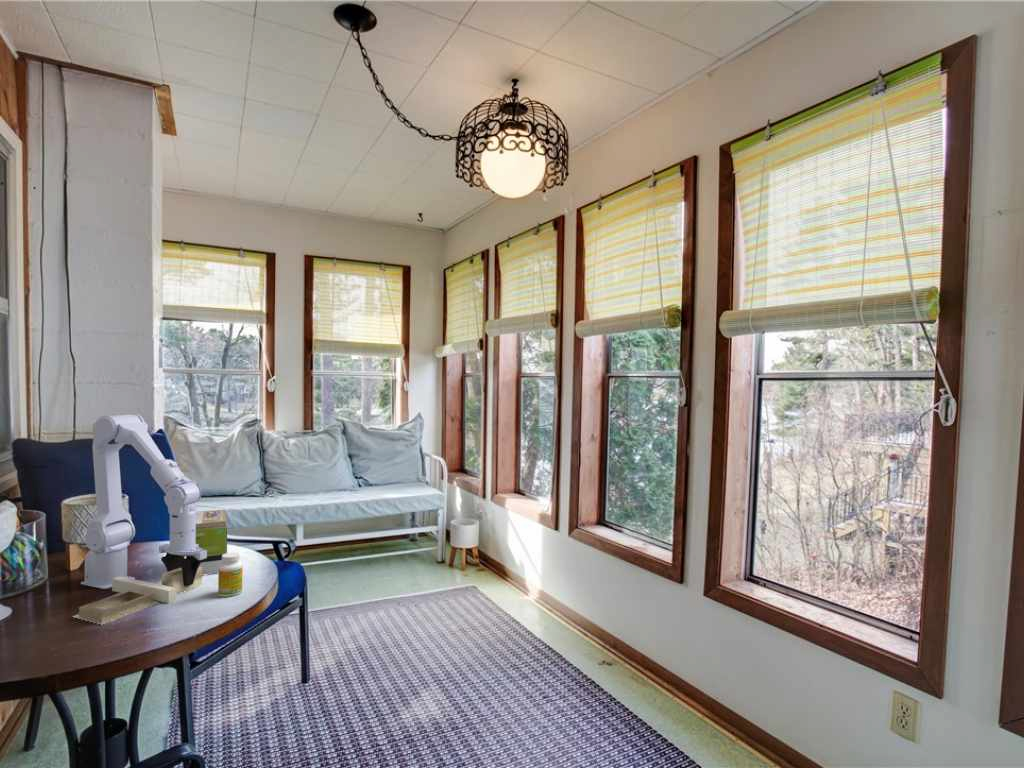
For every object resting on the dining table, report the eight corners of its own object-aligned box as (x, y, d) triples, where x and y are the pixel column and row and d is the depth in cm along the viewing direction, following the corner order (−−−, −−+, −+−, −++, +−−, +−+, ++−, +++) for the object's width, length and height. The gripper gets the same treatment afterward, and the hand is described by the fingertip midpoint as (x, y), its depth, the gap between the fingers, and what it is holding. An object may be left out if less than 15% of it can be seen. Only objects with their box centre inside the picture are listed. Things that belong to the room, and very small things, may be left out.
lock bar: (161, 593, 140) (162, 573, 140) (190, 583, 148) (190, 564, 148) (173, 596, 139) (173, 576, 139) (201, 585, 146) (201, 566, 146)
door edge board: (112, 590, 142) (112, 578, 142) (120, 588, 144) (120, 576, 144) (168, 603, 135) (168, 590, 135) (176, 600, 136) (176, 588, 136)
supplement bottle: (232, 598, 138) (232, 558, 138) (213, 596, 139) (213, 557, 139) (246, 590, 144) (247, 552, 143) (228, 588, 145) (228, 550, 145)
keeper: (72, 617, 126) (72, 607, 126) (129, 597, 138) (130, 587, 138) (102, 625, 122) (102, 614, 122) (158, 603, 134) (158, 593, 134)
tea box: (188, 561, 165) (188, 511, 165) (226, 557, 170) (227, 508, 169) (185, 578, 152) (185, 523, 152) (226, 572, 156) (227, 519, 156)
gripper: (217, 529, 144) (216, 582, 144) (176, 523, 150) (176, 574, 150) (192, 536, 138) (192, 592, 138) (151, 530, 143) (150, 583, 143)
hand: (182, 583), depth 143 cm, fingers closed on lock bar, 4 cm apart
